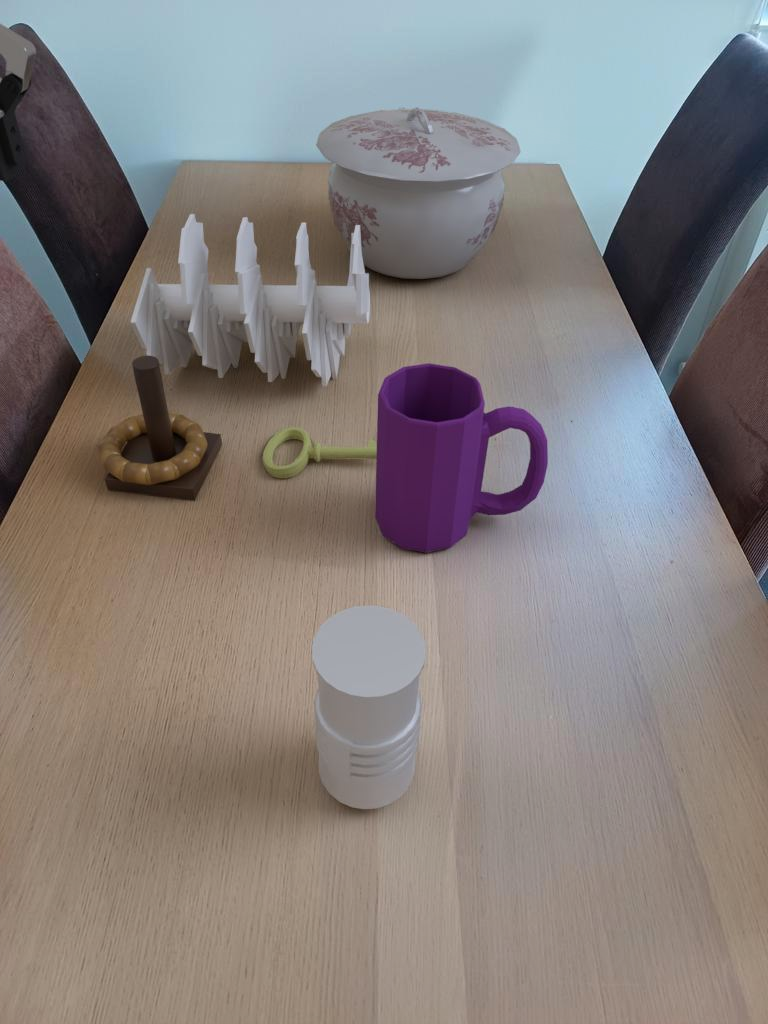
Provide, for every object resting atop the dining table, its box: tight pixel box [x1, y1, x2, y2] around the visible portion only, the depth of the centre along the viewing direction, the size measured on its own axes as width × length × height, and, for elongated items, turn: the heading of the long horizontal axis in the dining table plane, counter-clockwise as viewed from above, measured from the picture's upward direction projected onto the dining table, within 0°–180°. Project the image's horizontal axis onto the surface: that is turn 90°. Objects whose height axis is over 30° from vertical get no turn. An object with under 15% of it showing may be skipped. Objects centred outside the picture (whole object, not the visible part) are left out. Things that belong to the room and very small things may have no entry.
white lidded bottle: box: [311, 604, 427, 810], centre depth 52 cm, size 7×7×15 cm
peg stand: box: [104, 355, 223, 501], centre depth 78 cm, size 9×9×12 cm
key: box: [262, 426, 377, 479], centre depth 84 cm, size 7×12×2 cm, turn 102°
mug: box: [374, 362, 549, 554], centre depth 72 cm, size 9×16×15 cm, turn 92°
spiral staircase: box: [130, 213, 371, 387], centre depth 91 cm, size 18×18×25 cm
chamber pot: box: [316, 107, 522, 280], centre depth 112 cm, size 28×28×21 cm
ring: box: [98, 412, 207, 485], centre depth 81 cm, size 10×10×2 cm
